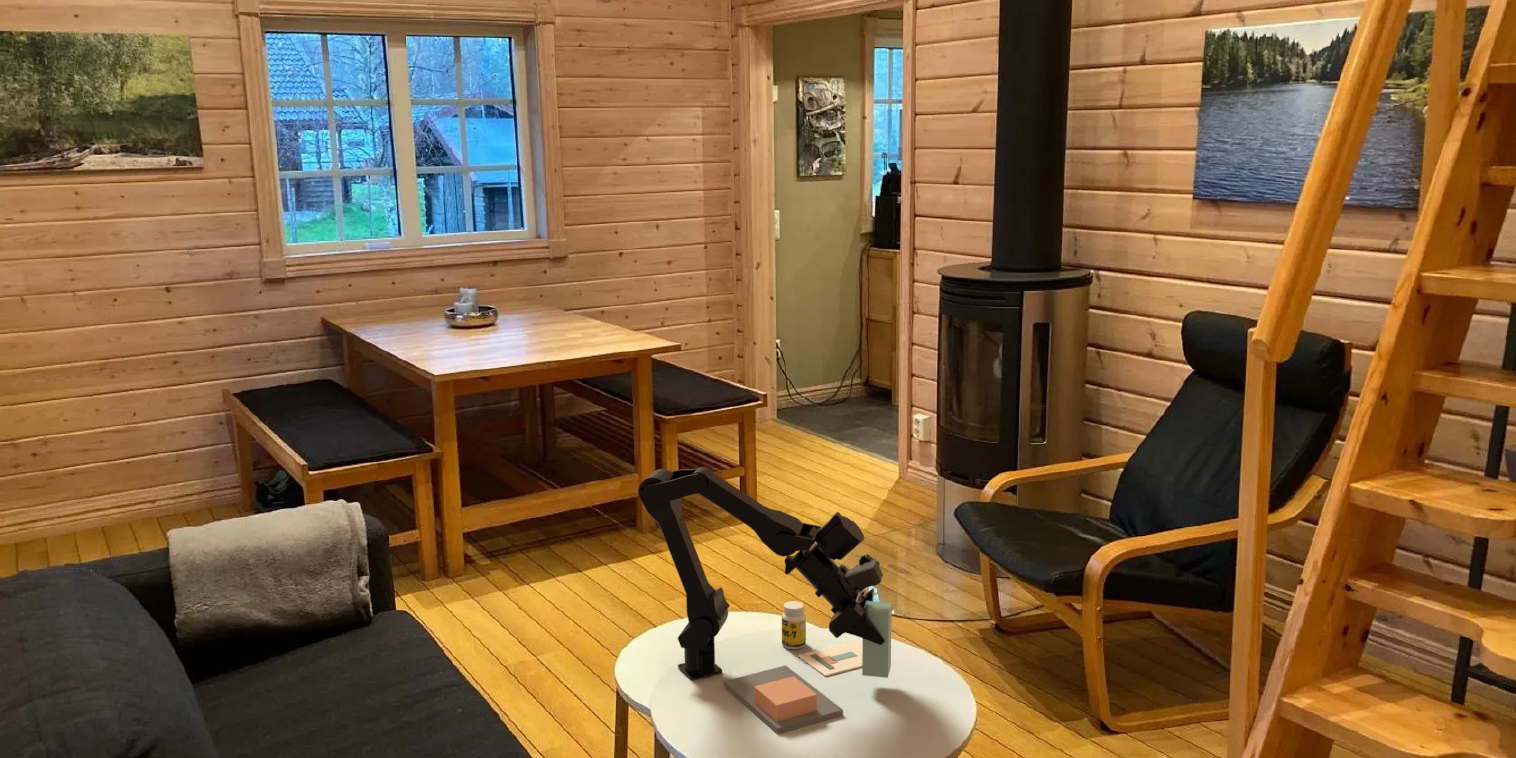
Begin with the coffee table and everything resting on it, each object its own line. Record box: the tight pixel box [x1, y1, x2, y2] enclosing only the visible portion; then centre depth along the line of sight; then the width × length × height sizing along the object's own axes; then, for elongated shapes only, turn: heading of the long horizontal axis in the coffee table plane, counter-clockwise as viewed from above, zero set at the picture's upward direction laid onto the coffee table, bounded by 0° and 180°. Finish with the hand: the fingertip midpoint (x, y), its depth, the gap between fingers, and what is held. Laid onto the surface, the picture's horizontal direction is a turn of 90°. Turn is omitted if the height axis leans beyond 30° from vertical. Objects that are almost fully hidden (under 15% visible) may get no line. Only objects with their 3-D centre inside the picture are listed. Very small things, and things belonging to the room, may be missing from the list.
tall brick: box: [861, 600, 893, 679], centre depth 207 cm, size 5×5×12 cm
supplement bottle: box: [781, 600, 807, 650], centre depth 226 cm, size 5×5×8 cm
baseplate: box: [723, 665, 844, 734], centre depth 204 cm, size 20×13×4 cm, turn 28°
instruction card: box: [797, 639, 863, 677], centre depth 220 cm, size 10×14×1 cm
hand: (884, 637), depth 206 cm, fingers closed on tall brick, 5 cm apart
